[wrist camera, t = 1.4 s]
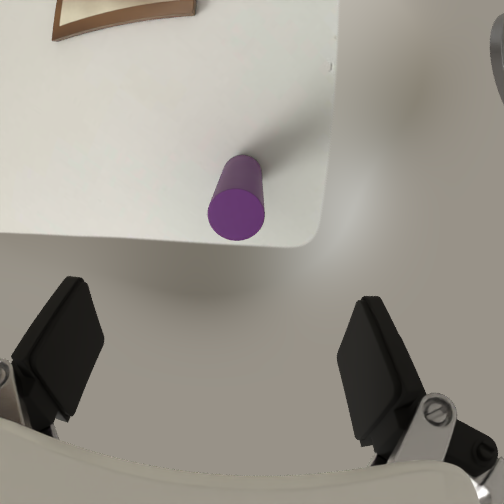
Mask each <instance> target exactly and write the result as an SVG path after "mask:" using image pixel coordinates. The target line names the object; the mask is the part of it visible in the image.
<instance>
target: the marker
mask: <svg viewBox="0 0 504 504" xmlns="http://www.w3.org/2000/svg"><path fill="white" fill-rule="evenodd" d="M264 217H265V212H264V198H263V184H262V172H261V167H260V165H259V163H258V162H257V161H256V160H255V159H254V158H252V157H250V156H247V155H238V156H235V157H233V158H231V159H230V160H229V161H228V162H227V163H226V165H225V167H224V169H223V172H222V174H221V176H220V179H219V182H218V184H217V187H216V189H215V192H214V194H213V197H212V199H211V202H210V205H209V208H208V220H209V223H210V225H211V227H212V228H213V230H214V231H215V232H216V233H217V234H218V235H220V236H221V237H223V238H226V239H229V240H235V241H239V240H245V239H248V238H250V237H252V236H253V235H255V234H256V233H257V232H258V231H259V230H260V228H261V227H262V225H263V222H264Z"/></svg>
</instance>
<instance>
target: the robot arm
mask: <svg viewBox="0 0 504 504" xmlns="http://www.w3.org/2000/svg"><path fill="white" fill-rule="evenodd" d="M103 344H104V335H103V332H102V329H101V326H100V323H99V320H98V317H97V314H96V311H95V308H94V305H93V301H92V298H91V294H90V291H89V287H88V284H87V283H86V282H84V280H83V279H82V278H80V277H71V276H68V277H66V278H65V279H64V281H63V282H62V283H61V284H60V286H59V287H58V289H57V290H56V291H55V292H54V294H53V295H52V296H51V298H50V299H49V300H48V302H47V303H46V305H45V306H44V307H43V309H42V310H41V312H40V313H39V315H38V316H37V317H36V319H35V320H34V322H33V323H32V324H31V326H30V327H29V329H28V330H27V332H26V334H25V335H24V336H23V338H22V340H21V341H20V343H19V344H18V346H17V348H16V349H15V351H14V352H13V354H12V356H11V357H12V359H13V361H12V363H10V362H9V361H8V360H6V359H2V358H0V504H504V459H503V458H502V457H500V458H499V459H498V458H497V456H498V450H497V446H496V444H495V442H494V441H493V439H491V438H490V437H489V436H487V435H485V434H483V433H481V432H480V431H478V430H475V429H474V428H472V427H470V426H468V425H467V424H465V423H463V422H461V421H459V420H457V411H456V407H455V406H454V404H453V402H452V401H451V400H450V399H449V398H448V397H446V396H445V395H443V394H440V393H430V394H427V395H426V392H425V390H424V387H423V385H422V383H421V381H420V378H419V376H418V374H417V371H416V369H415V367H414V365H413V362H412V360H411V358H410V355H409V353H408V351H407V349H406V347H405V345H404V343H403V341H402V338H401V337H400V335H399V334H398V332H397V330H396V327H395V326H394V323H393V321H392V319H391V317H390V315H389V313H388V311H387V309H386V307H385V306H384V304H383V302H382V300H381V298H380V297H378V296H364V297H362V299H361V300H358V301H357V302H356V305H355V308H354V311H353V313H352V316H351V319H350V322H349V324H348V327H347V330H346V332H345V335H344V337H343V340H342V343H341V345H340V348H339V350H338V353H337V362H338V366H339V371H340V375H341V379H342V383H343V386H344V391H345V395H346V399H347V403H348V408H349V412H350V417H351V421H352V426H353V430H354V435H355V438H356V439H357V440H360V443H361V447H364V446H370V445H373V447H374V452H375V454H374V456H373V457H372V459H371V461H370V462H369V464H368V465H367V467H366V468H359V469H352V470H345V471H337V472H327V473H317V474H305V475H289V476H288V475H286V476H239V475H221V474H208V473H198V472H189V471H182V470H175V469H168V468H162V467H157V466H151V465H146V464H141V463H137V462H132V461H128V460H123V459H119V458H115V457H111V456H108V455H104V454H101V453H97V452H94V451H90V450H87V449H84V448H81V447H78V446H75V445H72V444H69V443H66V442H64V441H61V440H59V437H58V435H57V432H56V429H55V426H54V423H53V422H54V420H55V418H56V419H59V420H62V421H65V422H68V421H69V419H70V416H73V415H74V414H75V412H76V409H77V406H78V404H79V401H80V399H81V396H82V394H83V391H84V389H85V386H86V384H87V381H88V379H89V377H90V374H91V372H92V369H93V367H94V365H95V362H96V360H97V358H98V356H99V353H100V351H101V349H102V347H103Z"/></svg>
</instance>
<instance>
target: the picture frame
mask: <svg viewBox="0 0 504 504" xmlns="http://www.w3.org/2000/svg"><path fill="white" fill-rule="evenodd" d="M195 9H196V0H57V3H56V10H55V17H54V25H53V34H52V41H56V42H58V41H61V40H64V39H67V38H70V37H74V36H77V35H81V34H84V33H88V32H92V31H96V30H100V29H104V28H108V27H113V26H118V25H123V24H128V23H134V22H140V21H146V20H154V19H162V18H171V17H182V16H195Z"/></svg>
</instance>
